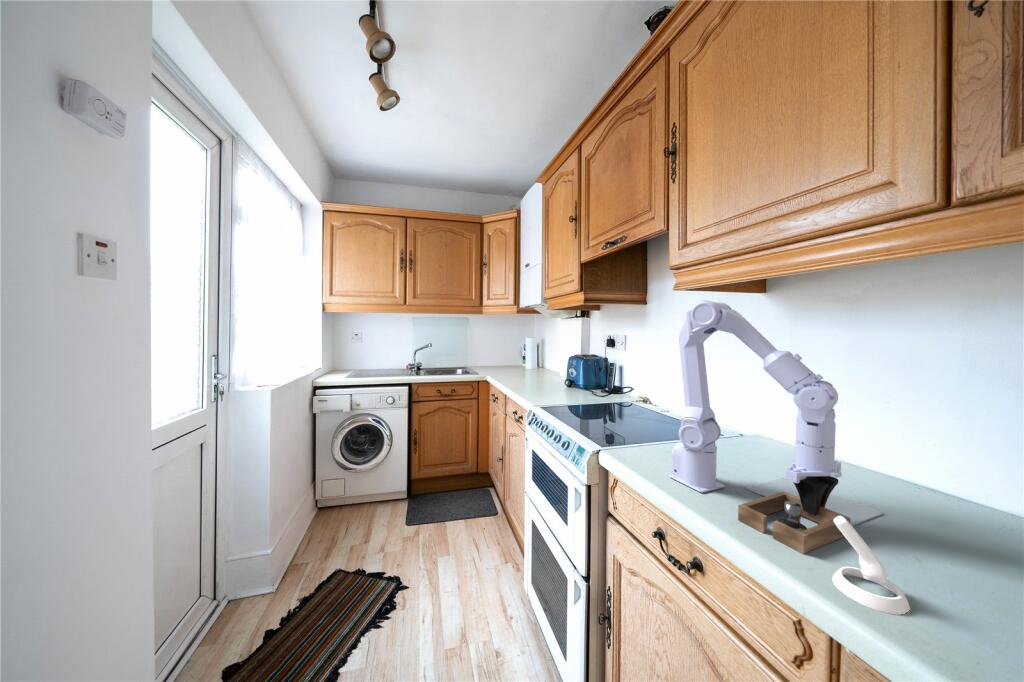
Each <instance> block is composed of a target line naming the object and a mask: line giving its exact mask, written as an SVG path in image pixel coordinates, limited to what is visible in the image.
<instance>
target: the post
mask: <svg viewBox="0 0 1024 682" xmlns="http://www.w3.org/2000/svg"><path fill="white" fill-rule="evenodd" d="M783 510H784V511H783V513H784V514H783V518H779V519H777V520H776V521H779V522H781V523H783V524H785V525H787V526H789V527H791V528H794V529H796V530H798V531H800V532H801V531H804V530H806V529H808V527H807V526H805V524H803V523H801V519H802V518H801V517H802V516H801V505H799V504H798V503H795V502H791V501H785V503H784V509H783Z"/></svg>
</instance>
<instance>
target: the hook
mask: <svg viewBox="0 0 1024 682" xmlns="http://www.w3.org/2000/svg"><path fill="white" fill-rule="evenodd" d="M833 521H834V523H835V524H836V526H837V527H838V529H839V530H840V531H841V532H842V534H843V535H844V538H845V539H846V540H847V541H848V543H849V544H850V545H851V546H852V548H853V549H854V550H855V551H856V553H857V554H858V563H859V564H858V565H859V566H860V568H859V567H854V566H842V567H840V568H839V569H837V570H836V571H835V572H834V574H833V575H832V578H831V580H832V583H833V585H834V586H835V587H836V588H837V590H839V591H840V592H841V593H843V595H845V596H847V597H848V598H849V599H851V600H853V601H855V602H857V603H858V604H860V605H862V606H865V607H868V608H869V609H872V610H875V611H877V612H881V613H885V614H890V615H894V616H895V615H897V616H899V615H900V616H902V615H901V614H903V615H906V614H905V613H906V612H908V611H909V610H910V611H911V606H910V603H909V601H908V599H907V596H906V595H905V593H904V592H903V591H902V590H901V587H899V586H897V585H896V584H895V583H894V582H892V581H890V580H889V579H888V571H887V569H886V567H885V565H884V564H883V563H882V561H881V560H880V559H879V557H878V556H877V555H876V554H875V552H873V550H872V549H871V548H870V546H869V545H868V544H867V543H866V541H864V539H863V538H862V537H861V536H860V535H861V534H859V533H858V532H857V530H856V529H855V528H854V526H852V525H851V524H850V523H849V522H848V521H847V520H846V519H845V518H844V517H842V516H837V517H836V518H834V519H833ZM845 576H851V577H856V578H861V579H863V580H867V581H870V582H873V583H874V584H876V585H879V586H881V587H883V588H885V589H887V590H888V591H889V592H892V593H893V594H895V595H896V596H895V597H888V596H882V595H879V594H874V593H872V592H869V591H867V590H864V589H862V588H860V587H858V586H857V585H855V584H853V583H851V582H850V581H849V580H848V579H846V577H845ZM910 611H909V612H910ZM909 612H908V613H909Z"/></svg>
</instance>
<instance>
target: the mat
mask: <svg viewBox="0 0 1024 682" xmlns="http://www.w3.org/2000/svg"><path fill="white" fill-rule="evenodd" d="M745 489H746V490H747V491H750V492H753V493H755V494H757V495H759V496H762V497H766V496H770V495H773V494H776V493H779V492H783V491H784V492H786V493H789V494H791V495H794V496H796V497H799V494H798V491H797V489H796V487H795V485H794V483H793V482H792V481H789V480H786V479H785V477H783V478H778V479H773V480H770V481H766V482H763V483H758V484H754V485H751V486H746V487H745ZM799 498H800V497H799ZM825 508H827V509H829V510H832V511H834V512H837V513H839V514H842V515H844V516H847V517H850V524H851V525H852V527H854V526H857V525H859V524H862V523H864V522H867V521H869V520H873V519H875V518H878V517H880V516H882V515H885V512H884V511H881V510H878V509H876V508H872V507H869V506H867V505H864V504H861V503H859V502H855V501H852V500H850V499H847V498H844V497H842V496H838V495H836V494H833V493H832V492H831V493H830V495H829V497H828V499H827V502H826V505H825Z"/></svg>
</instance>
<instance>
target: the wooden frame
mask: <svg viewBox="0 0 1024 682" xmlns="http://www.w3.org/2000/svg"><path fill="white" fill-rule="evenodd" d="M785 501H791V502H795V503H798V504H799V505H801V517H804V518H806V519H808V520H811V521H813V522H816V523H818V524H817V525H814V526H812V527H809V528H807V529H806V530H804V531H801V532H800V531H798V530H796V529H794V528H791V527H789V526H787V525H785V524H783V523H781V522H779V521H777V520H775V521H773V522H772V539H773V540H776V541H778V542H779V543H782V544H783V545H785V546H787V547H790V548H791V549H793V550H795V551H797V552H799V553H800V554H802V555H804V554H807V553H809V552H811V551H814V550H817V549H818V548H821V547H823V546H825V545H828V544H830V543H833V542H834V541H837V540H839V539H842V538H845V536H844V535H843V534H842V532H841V531H840V530H839V529H838V527H837V526H836V524H835V523H834V521H833V519H834V518H836V517H837V516H842V517H844V518H845V519H846V520H847V521H848V522H849V523H850V517H847V516H844V515H842V514H839V513H837V512H834V511H832V510H829V509H827V508H824V507H822V506H820V509H819V512H818V514H817V515H816V516H815V515H812V514H810V513H808V512H805V511H803V508H802V504H801V500H800V498H799V497H796V496H794V495H791V494H789V493H786V492H784V491H783V492H779V493H776V494H773V495H770V496H766V497H764V496H762V497H761V498H757V499H754V500H750V501H747V502H745V503H744V502H743V503H741V504H738V505H737V510H738V511H737V513H738V514H737V518H738V519H737V521H739V522H741V523H743V524H745V525H747V526H749V527H751V528H752V529H755V530H757V531H759V532H760V533H763V534H765V533H767V532H768V515H770V514H774V513H777V512H779V511H782V510H784V503H785Z"/></svg>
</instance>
